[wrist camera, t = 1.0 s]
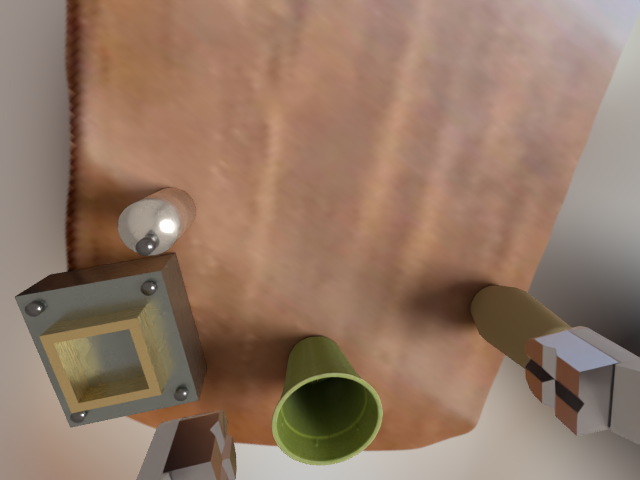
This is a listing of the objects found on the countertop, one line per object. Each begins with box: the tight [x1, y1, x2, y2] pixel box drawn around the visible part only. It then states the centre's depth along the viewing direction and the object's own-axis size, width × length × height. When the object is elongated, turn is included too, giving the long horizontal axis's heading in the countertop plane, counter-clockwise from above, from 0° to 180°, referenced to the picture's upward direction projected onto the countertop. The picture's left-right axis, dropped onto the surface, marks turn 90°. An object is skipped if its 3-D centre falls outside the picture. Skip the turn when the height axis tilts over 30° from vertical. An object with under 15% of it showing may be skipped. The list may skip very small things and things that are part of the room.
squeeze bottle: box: [471, 285, 571, 369], centre depth 42 cm, size 8×8×18 cm
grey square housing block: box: [15, 253, 207, 427], centre depth 40 cm, size 16×14×8 cm
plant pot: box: [272, 336, 383, 465], centre depth 43 cm, size 12×12×11 cm
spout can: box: [118, 188, 196, 256], centre depth 36 cm, size 5×5×11 cm
